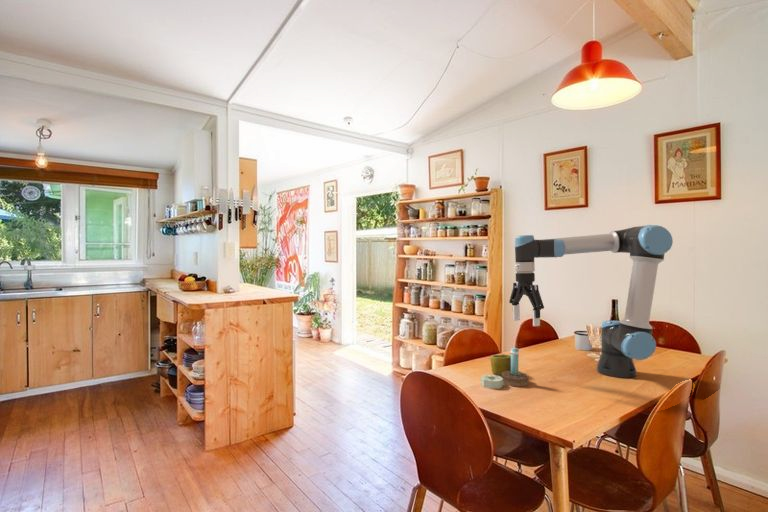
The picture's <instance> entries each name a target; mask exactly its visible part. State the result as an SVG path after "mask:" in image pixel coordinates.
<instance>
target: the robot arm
mask: <svg viewBox="0 0 768 512" xmlns="http://www.w3.org/2000/svg"><path fill="white" fill-rule="evenodd" d="M672 247H673V236H672V234H671V232H670V231H669V230H668V229H667V228H665V227H663V226H662V225H654V224H647V225H642V226H641V225H639V226H633V227H628V228H624V229H619V230H612V231H610V232H609V233H602V234H592V235H590V234H589V235H581V236H580V235H579V236H578V235H577V236H570V237H558V238H557V237H556V238H545V239H535V237H534V234H530V235H529V234H527V235H526V234H525V235H516V237H514V255H515V258H514V261H515V272H516V273H515V281H516V282H512V283H513V284H512V289H511V295H510V297H509V298H510V299H509V304H511V305H512V317H513V319H512V320H513V321H514V322H516V321H521V320H520V319H521V315H520V313H521V312H520V311H521V310H520V309H521V308H520V302H521V299H522V298H523V297H524V296H523V295H525V296H526V297H527V298H528V300H529V301H530V304H531V306H532V327H540V326H541V310H543V309H544V308H545V306H544V302H543V300H542V296H541V293H540V290H539V285H538V284H533V283H535V280H536V277H535V276H536V275H535V269H536V268H535V265H536V264H535V258H538V259H539V258H555V259H556V258H562V257H564V255H576V254H577V255H578V254H587V253H588V254H589V253H599V252H600V253H601V252H612V253H615V254H616V253H622V254H623V253H625V254H629V258H630V259H631V260H632V267H631V273H630V280H629V288H628V293H627V299H626V300H627V301H626V306H625V313H624V318H623V319H621V320H604V321H602V322H601V328H600V329H601V337H600V338H601V341H600V345H601V347H600V349H601V353H600V357H599V359H598V361H597V363H596V371H597V372H598V373H600V374H603V375H605V376H609V377H614V378H623V379H624V378H627V379H629V378H635V377H636V376H637V368H636V366H635V363H634V360H636V361H642V360H646V359H648V358H650V357H652V355H653V354H654V353H655V351H656V348H657V341H656V339H655V338H654V337H653V326H652V325H651V324H650V318H651V312H652V306H653V300H654V292H655V287H656V281H657V275H658V274H657V273H658V268H659V264H661V262H663V261H665V254H666V253H668V251H670V250H671V249H672Z"/></svg>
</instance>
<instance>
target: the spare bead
mask: <svg viewBox="0 0 768 512" xmlns="http://www.w3.org/2000/svg"><path fill="white" fill-rule="evenodd" d="M480 385H481V386H482V387H483V388H486V389H492V390H495V389H502V388H503V387H504V384H503V378H502V376H496V375H494V374H484V375H481V377H480Z"/></svg>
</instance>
